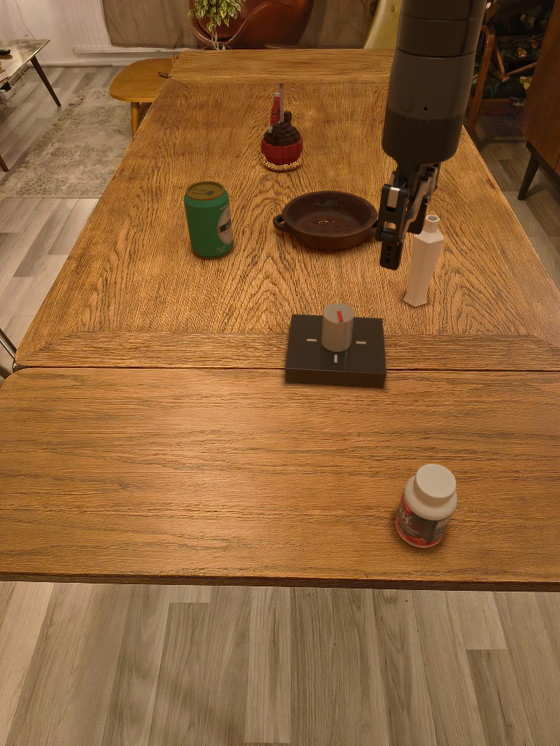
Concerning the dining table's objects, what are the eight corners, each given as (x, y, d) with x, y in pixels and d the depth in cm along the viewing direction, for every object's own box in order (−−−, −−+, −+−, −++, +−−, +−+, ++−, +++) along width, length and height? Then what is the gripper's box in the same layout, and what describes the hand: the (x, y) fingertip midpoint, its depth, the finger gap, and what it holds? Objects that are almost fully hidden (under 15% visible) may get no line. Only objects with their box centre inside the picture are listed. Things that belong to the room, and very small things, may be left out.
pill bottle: (384, 526, 58) (397, 478, 51) (413, 497, 61) (429, 448, 54) (424, 559, 55) (443, 514, 48) (452, 527, 58) (475, 480, 51)
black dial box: (380, 332, 81) (382, 317, 79) (383, 388, 73) (386, 373, 71) (291, 328, 82) (291, 312, 80) (285, 383, 74) (285, 367, 72)
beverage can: (222, 264, 95) (216, 203, 87) (184, 256, 97) (174, 196, 89) (240, 242, 100) (235, 183, 92) (203, 235, 102) (195, 176, 94)
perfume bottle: (397, 292, 88) (412, 211, 78) (422, 290, 89) (440, 209, 78) (405, 308, 85) (421, 227, 74) (430, 306, 85) (450, 225, 75)
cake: (294, 176, 120) (294, 92, 107) (256, 171, 122) (252, 88, 109) (307, 158, 127) (309, 77, 114) (271, 153, 129) (269, 73, 116)
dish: (278, 209, 109) (278, 187, 105) (384, 214, 107) (387, 191, 103) (267, 255, 97) (266, 231, 93) (385, 261, 95) (389, 237, 91)
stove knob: (319, 332, 77) (320, 301, 73) (348, 330, 77) (351, 300, 73) (323, 353, 74) (325, 322, 70) (353, 351, 74) (357, 319, 70)
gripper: (444, 134, 43) (413, 290, 55) (483, 84, 52) (449, 228, 64) (361, 120, 46) (348, 272, 58) (411, 74, 55) (391, 214, 66)
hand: (401, 248), depth 61 cm, fingers open, 8 cm apart
